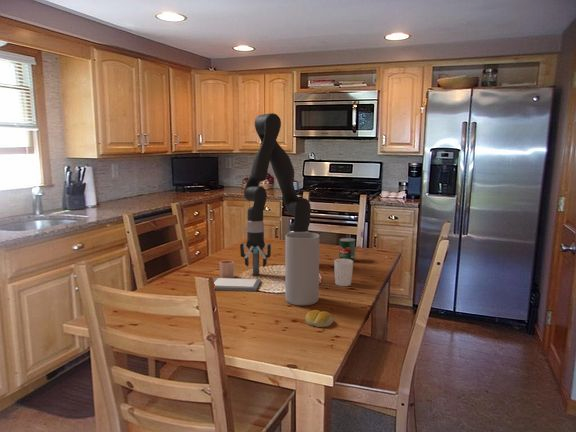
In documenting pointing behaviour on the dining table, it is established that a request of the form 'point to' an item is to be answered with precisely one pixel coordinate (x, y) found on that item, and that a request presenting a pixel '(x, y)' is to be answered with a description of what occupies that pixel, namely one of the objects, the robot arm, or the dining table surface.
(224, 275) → the pen cup
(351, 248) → the canned tomato
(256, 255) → the marker
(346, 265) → the white cup
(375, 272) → the dining table surface
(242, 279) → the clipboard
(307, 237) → the cylinder vase
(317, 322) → the bread roll
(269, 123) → the robot arm
